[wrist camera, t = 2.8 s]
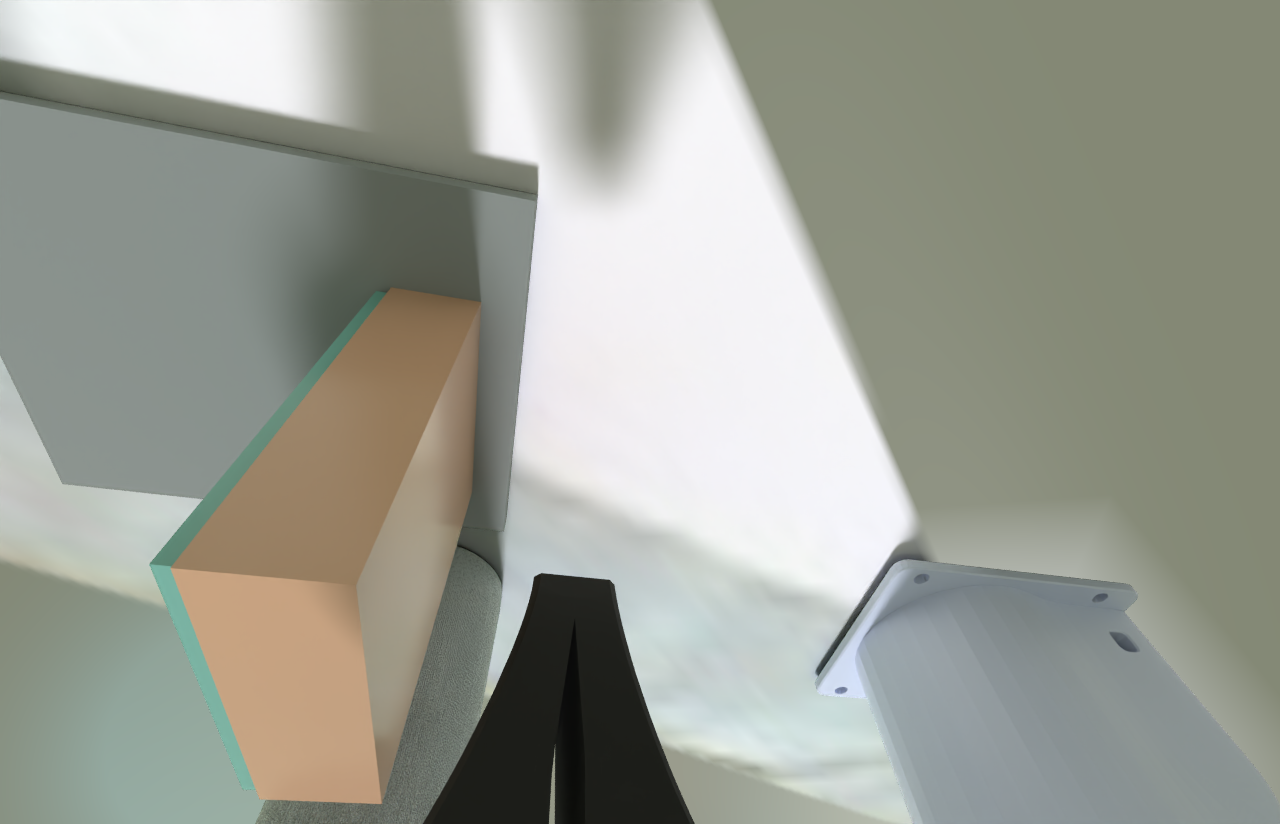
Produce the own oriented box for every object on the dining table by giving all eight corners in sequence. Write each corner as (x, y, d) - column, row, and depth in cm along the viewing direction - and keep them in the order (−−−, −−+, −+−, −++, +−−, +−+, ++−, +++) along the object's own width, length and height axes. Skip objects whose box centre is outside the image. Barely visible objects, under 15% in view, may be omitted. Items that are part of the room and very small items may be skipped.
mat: (537, 194, 13) (535, 201, 12) (506, 519, 18) (503, 531, 18) (-109, 70, 11) (-137, 73, 10) (76, 472, 16) (62, 483, 16)
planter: (529, 596, 20) (471, 1014, 12) (431, 639, 22) (314, 1046, 13) (441, 518, 18) (291, 969, 10) (336, 571, 19) (121, 1014, 11)
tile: (481, 302, 13) (356, 585, 7) (472, 491, 17) (381, 804, 10) (377, 285, 13) (141, 565, 7) (389, 481, 16) (240, 798, 10)
